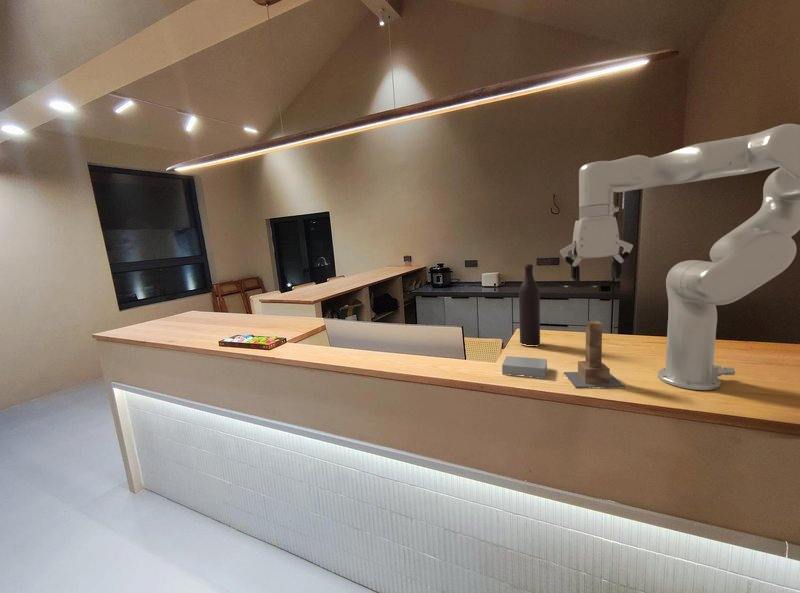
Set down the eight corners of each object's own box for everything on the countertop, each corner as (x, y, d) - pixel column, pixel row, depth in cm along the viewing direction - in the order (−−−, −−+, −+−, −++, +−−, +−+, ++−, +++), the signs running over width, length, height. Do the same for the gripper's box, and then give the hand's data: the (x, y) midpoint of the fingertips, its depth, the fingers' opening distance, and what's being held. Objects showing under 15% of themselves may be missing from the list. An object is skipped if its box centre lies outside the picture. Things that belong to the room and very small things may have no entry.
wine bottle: (543, 343, 129) (542, 263, 124) (535, 348, 124) (534, 265, 119) (524, 340, 134) (523, 263, 129) (516, 345, 129) (515, 265, 124)
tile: (546, 359, 105) (506, 356, 110) (545, 368, 98) (502, 364, 103) (546, 369, 106) (506, 365, 111) (545, 379, 99) (502, 375, 104)
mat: (608, 372, 99) (608, 371, 99) (624, 387, 89) (624, 386, 89) (563, 373, 101) (563, 371, 101) (575, 388, 91) (575, 386, 91)
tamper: (600, 374, 97) (601, 319, 95) (609, 383, 92) (610, 325, 89) (577, 374, 99) (578, 320, 96) (585, 383, 93) (585, 325, 90)
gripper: (625, 210, 90) (624, 275, 93) (555, 217, 93) (556, 280, 96) (640, 208, 83) (639, 278, 85) (564, 215, 85) (565, 283, 88)
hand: (595, 279), depth 90 cm, fingers open, 9 cm apart
